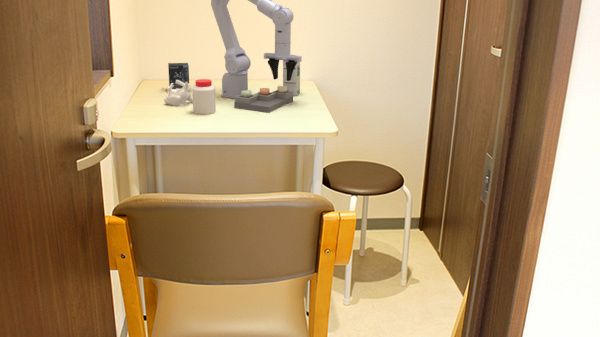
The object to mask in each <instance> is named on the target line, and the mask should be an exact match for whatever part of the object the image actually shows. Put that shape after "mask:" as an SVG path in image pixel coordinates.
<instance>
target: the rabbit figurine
mask: <svg viewBox="0 0 600 337" xmlns="http://www.w3.org/2000/svg"><path fill="white" fill-rule="evenodd" d="M175 83H176V84H179V85H181V86H183V87H182V88H181V89H177V88H176V89H172V87H174V85H173V83H171V85H170V86H169V85H168V87H167V88H166V92H168V93H167V94H168V95H166V97H165V98H164V99H163V101H164V103H165V104H166V105H168V106H174V107H178V106H179V107H184V106H188V105H189V104H188V102H190V103H191V104H193V97H192V96H191V91H192V87H191V84H190V82H189V83H188V82H185V83H183V82H181V81H179V80H176V82H175Z"/></svg>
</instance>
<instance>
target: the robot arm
mask: <svg viewBox="0 0 600 337" xmlns="http://www.w3.org/2000/svg"><path fill="white" fill-rule="evenodd" d="M210 1H211V2H210V5H211V6H210V7H211V9H212V12H213V15H214V19H215V22H216V23H217V24H216V25H217V27H218V31H219V33H220V36H221V39H222V42H223V44H224V47H225V50H226V51H225V53H224V60H225V61H224V62H225V64H224V66H225V70H226V72H225V73H224V74H223V75H222V79H221V88H222V90H221V93H222V95H220V96H221V97H222V98H228V99H229V98H231V99H235V97H236V96H238V95H241V91H243V90H248V87H249V85H248V83H249V82H248V81H249V79H248V77H249V76H248V72H249V69H250V68H251V63H252V62H251V59H250V57H249V56H248V55H247V53H246V50H245V49H243V47H242V46H240V45H241V44H240V42H239V40H238V36H237V33H236V29H235V27H234V24H233V21H232V18H231V15H230V12H229V9H228V8H229V7H228V4H229V3H230V0H210ZM247 1H248V2H250V3H252V4H254V6H256V8H257V11H259V13H261V14H263V15H264V16H266V17H267V18H269V19H270V20H271V21H272V22H273V25H274V53H273V52H264V53H263V59H264V60H267V64H268V66H269V68H270V70H271V74H272V78H273V80H278V79H279V64H280V61H283V60H285V61H288V62H286V69H287V81H290V80H291V77H292V73H293V70H294V68H295V66H296V64H297V62H300V63H301V62H302V60H303V59H302V57H303V56H301V55H297V54H291V45H292V44H291V42H292V41H291V34H292V31H291V30H292V28H291V27H292V26H291V25H292V24H291V23H292V22H293V20H294V12H293V11H292V10H291V9H290V8H289V7H283V5H282V4H278V3H277V2H275V1H273V0H247ZM251 95H253V94H252V93H251Z"/></svg>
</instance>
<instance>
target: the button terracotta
mask: <svg viewBox="0 0 600 337" xmlns="http://www.w3.org/2000/svg"><path fill="white" fill-rule="evenodd" d="M259 92H260V95H265V96H266V95H269V92H270V88H268V87H261V88H259Z"/></svg>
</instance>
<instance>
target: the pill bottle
mask: <svg viewBox="0 0 600 337" xmlns="http://www.w3.org/2000/svg"><path fill="white" fill-rule="evenodd" d="M212 82H213V81H212V80H211V79H209V78H200V79H199V78H198V79H196V80H195V82H194V83H195V85H194V86H192V87H191V91H192V99H193V103H192V111H193V114H196V115H202V116H203V115H212V114H213V115H214V114H215V113H216V112H217V110H216V106H217V105H216V87H215V86H214V85H213V84H212Z"/></svg>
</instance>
